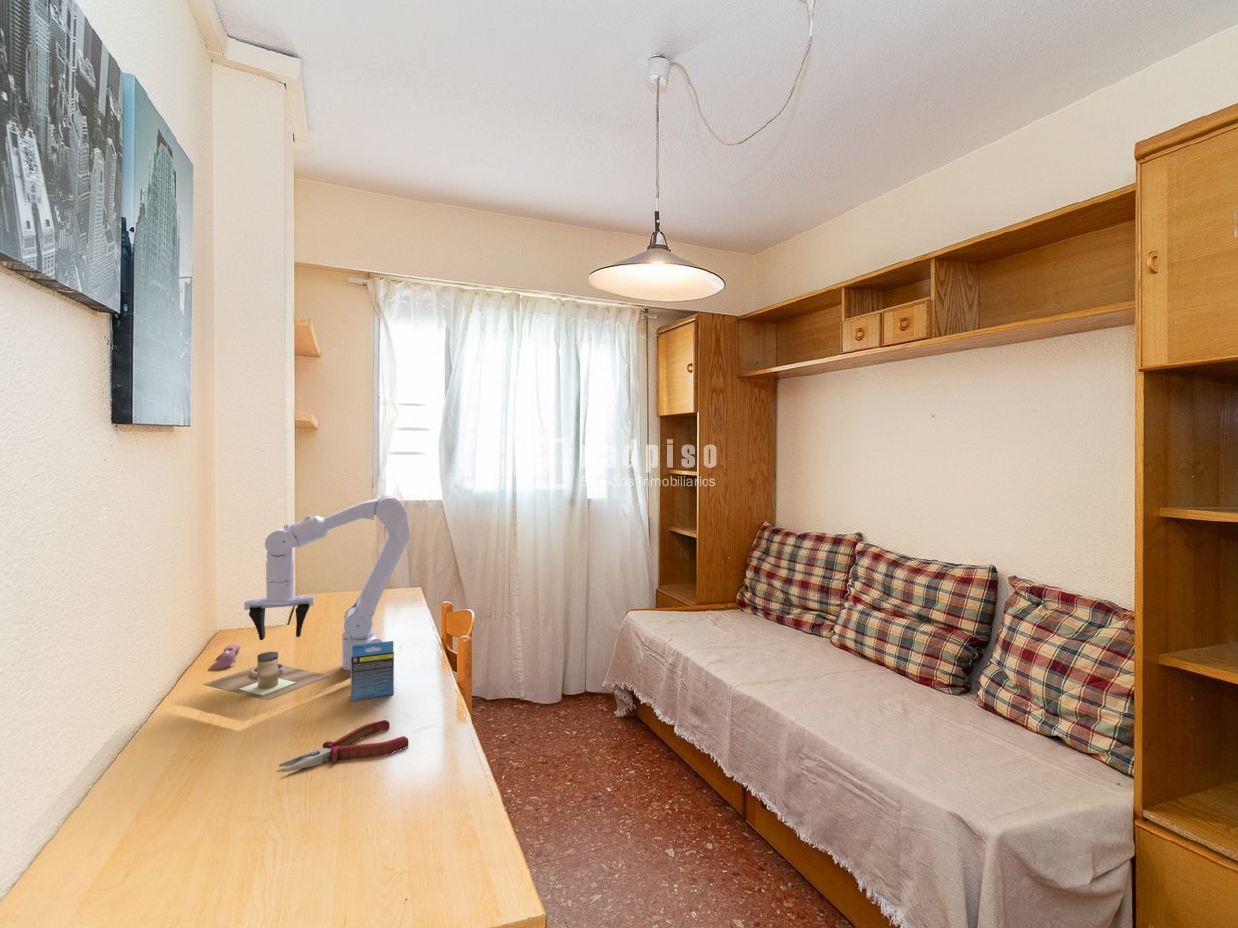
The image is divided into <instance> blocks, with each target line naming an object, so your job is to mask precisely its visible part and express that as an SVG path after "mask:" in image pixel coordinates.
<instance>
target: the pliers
mask: <svg viewBox="0 0 1238 928" xmlns="http://www.w3.org/2000/svg"><path fill="white" fill-rule="evenodd" d="M390 726H391V725H390V722H389V721H388V720H387V719H382V720H379V721H375V722H370V723H366V724H363V725H362V726H360V727H358V728H356V729H354V730H352V731H350V732H348V734H344V736H342V737H340V738H338V739H336V740H335V741H332V740H327V741H325V742H323V744H322V749H315V750H311V751H309V752H306V753H304V754H302V755H299V756H296V757H294V758H291V759H289V760H287V761H284V762H281V763H279V764H278V767H279V768H280V767H286V768H284V769H282V773H287V772H292V771H298V770H301V769H306V768H307V769H308V768H310V767H311V768H312V767H315V766H319V765H321V764H323V763H326V762H331V764H332V765H335V764H337V763H338V761H344V760H354V759H355V758H356V759H363V758H364V759H365V758H374V756H377V757H382V756H381V755H383V756H386V755H385V754H388V755H391V754H393V753H392V752H394V751H397V750H400V749H403V748H405V747H407V746H408V747H409V739H408V737H407V736H405V735H404V736H400V737H396V738H393V739H391V740H388V741H383V742H374V743H373V742H372V743H360V744H355V743H356V742H355V741H357V740H359V739H360V738H362V737H364V738H365V737H369V736H371V734H372V735H374V733H375V734H378V733H377V732H379V733H382V732H385V731H384V730H386V731H388V729H390ZM381 731H382V732H381ZM368 735H369V736H368ZM362 739H363V738H362ZM360 740H361V739H360ZM360 740H359V741H360ZM354 742H355V743H354ZM357 742H358V741H357ZM352 743H353V744H352ZM351 744H352V745H351ZM408 747H407V748H408ZM403 750H404V749H403ZM400 751H401V750H400ZM397 752H398V751H397ZM390 753H391V754H390ZM394 753H395V752H394Z"/></svg>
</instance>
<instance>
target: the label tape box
mask: <svg viewBox="0 0 1238 928" xmlns="http://www.w3.org/2000/svg"><path fill="white" fill-rule="evenodd" d="M372 647H374V648H380V650H379V651H370V652H366V649H371V648H372ZM394 675H395V651H394V640H389V641H382V642H379V643H369V644H359V645H352V657H351V670H350V700H351V701H352V702H353V701H361V700H367V699H373V698H377V697H378V698H379V697H384V696H385V697H386V696H390V695H394V692H395V684H394V683H395V677H394Z"/></svg>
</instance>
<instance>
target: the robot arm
mask: <svg viewBox="0 0 1238 928" xmlns="http://www.w3.org/2000/svg"><path fill="white" fill-rule="evenodd" d="M375 516H376V518H378V520H379V521H380V522H381V523H382V524H383V525H384V527H385V530H386V532H387V535H388V536H387V539H386V542H385V543H384V545H383V547H382V550H381V552H380V553H379V555H378V558H377V560H376V562H375V564H374V565H373V568H372V570H371V572H370V574H369V576H368V578H367V580H366V581H365V584H364V586H363V588H362V590H361V592H360V593H359V595H358V597H357V598H356V600H355V602H354V603H353V605H351V606H350V607H349V608H348V609H346V611H345V613H344V616H343V617H344V620H343V621H344V623H343V630H344V632H343V633H342V634H341V642H342V643H341V649H342V650H341V651H342V652H341V656H342V657H341V660H342V661H341V662H342V663H341V666H342V669H343V670H345V671H351V657H352V645H359V644H369V643H379V642H383V640H382V639H380V638H378V637H377V636H376V635H375V634H374V633H375V632H374V630H373V618H374V615H375V613H376V609H377V606H378V604H379V601H380V599H381V597H382V595H383V593H384V591H385V588H386V587H387V584H388V583H389V581H390V578H391V577H392V575H393V573H394V570H395V569H396V566H397V564H398V562H399V560H400V558H401V556H402V554H403V551H404V550H405V548H406V546H407V544H408V541H409V539H410V536H411V535H410V529H409V522H408V521H409V520H408V516H407V511H406V510H405V508H404V506H403V504H402V503H401V502H400V500H399V499H398V498H397V497H395V496H392V495H384V496H381V497H379V499H378V498H373V499H370V500H365V501H363V502H359V503H357V504H355V505H353V506H350V507H347V508H345V509H343V510H340V511H338V512H336V513H333V514H330V515H329V516H326V517H321V516H320V515H313V516H312V515H309V514H308V515H307V516H305V517H304V519H303V520H300V521H298V522H297V521H296V522H295V523H293V524H290V525H289V524H288V523H287V524H285V525H283V528H279V529H278V528H277V529H274V530H273V531H272V532H271V533H270V534H268V535H267V537H266V539H265V541H264V547H265V550H266V562H265V566H266V567H265V569H266V570H265V571H266V572H265V576H266V577H265V579H266V580H265V581H266V587H265V588H266V595H265V596H266V597H265V598H257V599H246V600H245V601H244V602H243V603H244V608H243V609H244V611H249V612H248V616H249V617H250V619H251V621H252V623H254V626H255V628H256V631H257V635H258V639H259V641H263V640H264V639H266V628H265V620H266V619H265V617H266V609H270V608H271V609H272V608H273V609H274V608H284V607H288V608H289V607H296V608H295V618H296V620H295V622H296V625H295V626H296V627H295V628H296V631H295V637H296V638H299V637H301V635H302V629H303V625H304V622H305V618H306V617H307V614H308V612H309V609H310V607H311V606H314V605H316V603H315V602H316V601H315V600H316V599H315V598H316V596H315V595H295V584H294V583H295V577H294V573H295V570H294V568H295V567H294V566H295V565H294V563H295V562H294V561H295V560H294V558H293V557H294V556H293V554H294V553H293V548H301V547H304V546H306V545H309V544H311V543H314V542H316V541H318V540H321V539H325V538H326V536H327V535H328V532H329V531H330V530H333V529H336V528H338V527H340V526H341V527H342V526H344V525H346V524H349V523H352V522H355V521H358V520H362V519H365V520H371V521H372V520H373V521H374V520H375ZM379 650H380V648H374V647H372V648H371V649H366V652H370V651H379Z"/></svg>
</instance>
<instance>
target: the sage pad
mask: <svg viewBox="0 0 1238 928" xmlns="http://www.w3.org/2000/svg"><path fill="white" fill-rule="evenodd" d="M294 684H296V682H292V681H288V680H283V679H279V678H278V685H277V686H275V687H272V688H268V689H259V688H258V682H257V683H254V684H251V685H248V686H246V687H243V688H240V689H239V690H240V691H244V692H248V693H252V694H256V695H261V696H265V695H268V694H270V693H273V692H276V691H278V690H281V689H283V688H286V687H289V686H291V685H294Z"/></svg>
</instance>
